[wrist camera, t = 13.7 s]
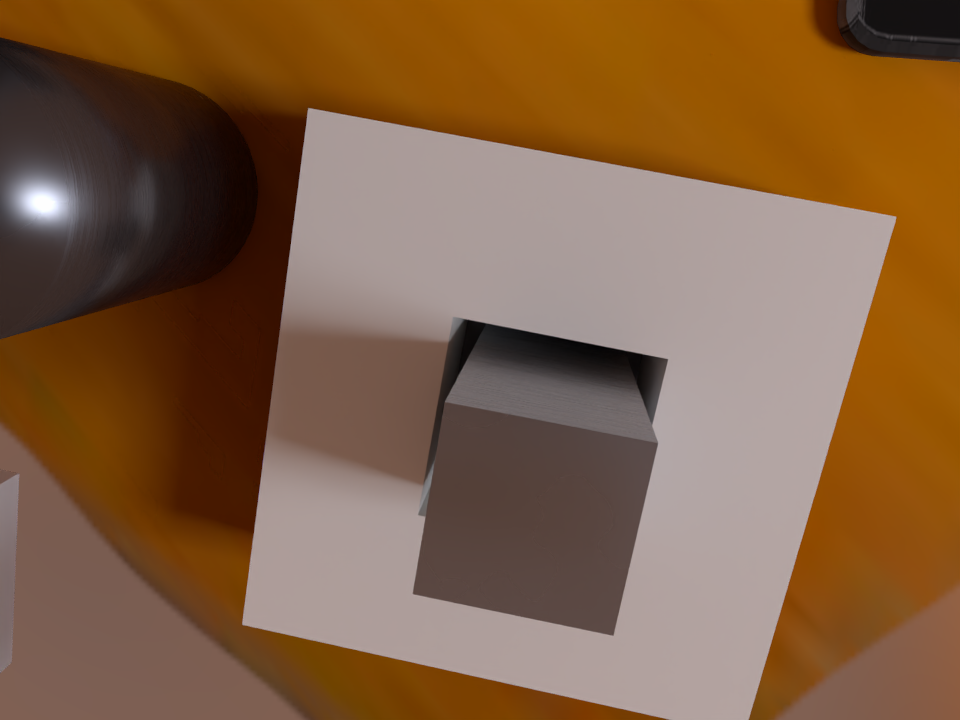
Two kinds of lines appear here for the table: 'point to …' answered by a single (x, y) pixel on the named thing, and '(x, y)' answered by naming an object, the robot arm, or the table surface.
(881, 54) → the phone
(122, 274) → the cylinder
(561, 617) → the square bit
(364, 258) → the socket block
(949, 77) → the table surface
